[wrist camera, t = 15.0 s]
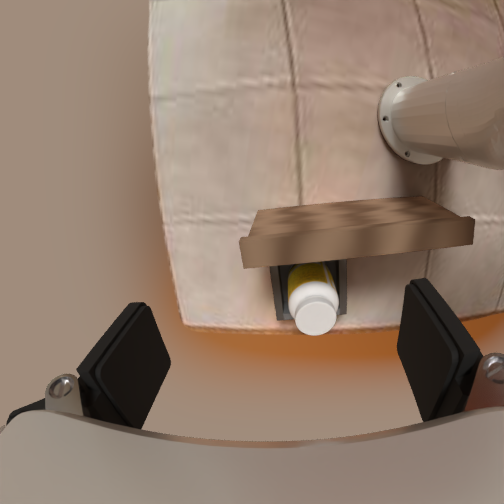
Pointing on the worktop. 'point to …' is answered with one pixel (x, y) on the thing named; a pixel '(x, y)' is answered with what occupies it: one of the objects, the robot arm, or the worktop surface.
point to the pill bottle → (312, 297)
